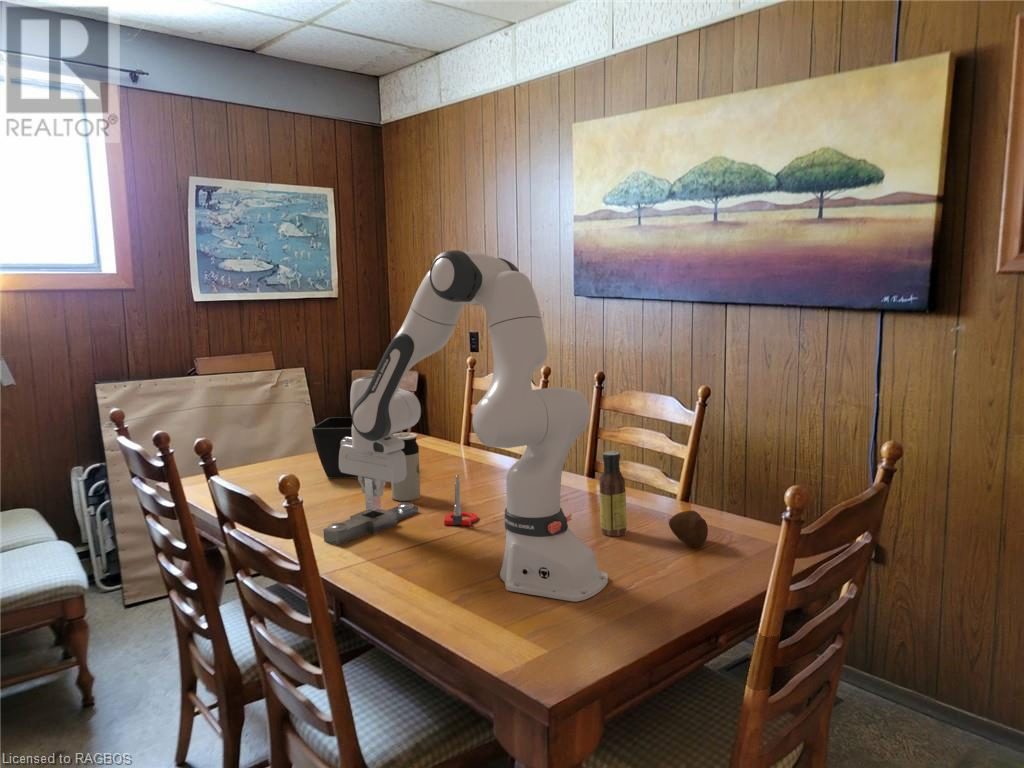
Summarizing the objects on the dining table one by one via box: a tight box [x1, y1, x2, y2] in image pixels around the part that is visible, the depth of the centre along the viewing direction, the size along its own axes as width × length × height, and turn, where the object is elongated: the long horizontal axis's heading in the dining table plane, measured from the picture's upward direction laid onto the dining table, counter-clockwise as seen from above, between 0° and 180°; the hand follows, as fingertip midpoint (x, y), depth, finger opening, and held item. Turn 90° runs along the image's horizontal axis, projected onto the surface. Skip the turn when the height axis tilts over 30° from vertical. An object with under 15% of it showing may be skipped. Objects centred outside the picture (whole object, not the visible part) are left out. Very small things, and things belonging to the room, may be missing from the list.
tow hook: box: [443, 474, 479, 527], centre depth 184 cm, size 8×13×9 cm
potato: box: [668, 510, 709, 547], centre depth 166 cm, size 7×10×8 cm
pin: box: [364, 477, 382, 511], centre depth 180 cm, size 3×3×8 cm
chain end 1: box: [322, 508, 396, 546], centre depth 177 cm, size 8×18×4 cm, turn 146°
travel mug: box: [390, 432, 421, 502], centre depth 203 cm, size 8×8×18 cm
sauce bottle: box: [599, 450, 628, 537], centre depth 173 cm, size 7×6×20 cm
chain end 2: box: [369, 501, 419, 534], centre depth 186 cm, size 8×18×2 cm, turn 146°
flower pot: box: [311, 416, 358, 479], centre depth 229 cm, size 19×19×17 cm
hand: (372, 494), depth 180 cm, fingers closed on pin, 3 cm apart
